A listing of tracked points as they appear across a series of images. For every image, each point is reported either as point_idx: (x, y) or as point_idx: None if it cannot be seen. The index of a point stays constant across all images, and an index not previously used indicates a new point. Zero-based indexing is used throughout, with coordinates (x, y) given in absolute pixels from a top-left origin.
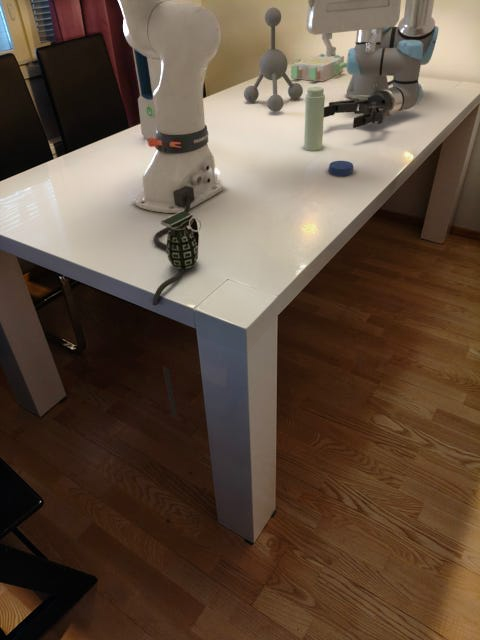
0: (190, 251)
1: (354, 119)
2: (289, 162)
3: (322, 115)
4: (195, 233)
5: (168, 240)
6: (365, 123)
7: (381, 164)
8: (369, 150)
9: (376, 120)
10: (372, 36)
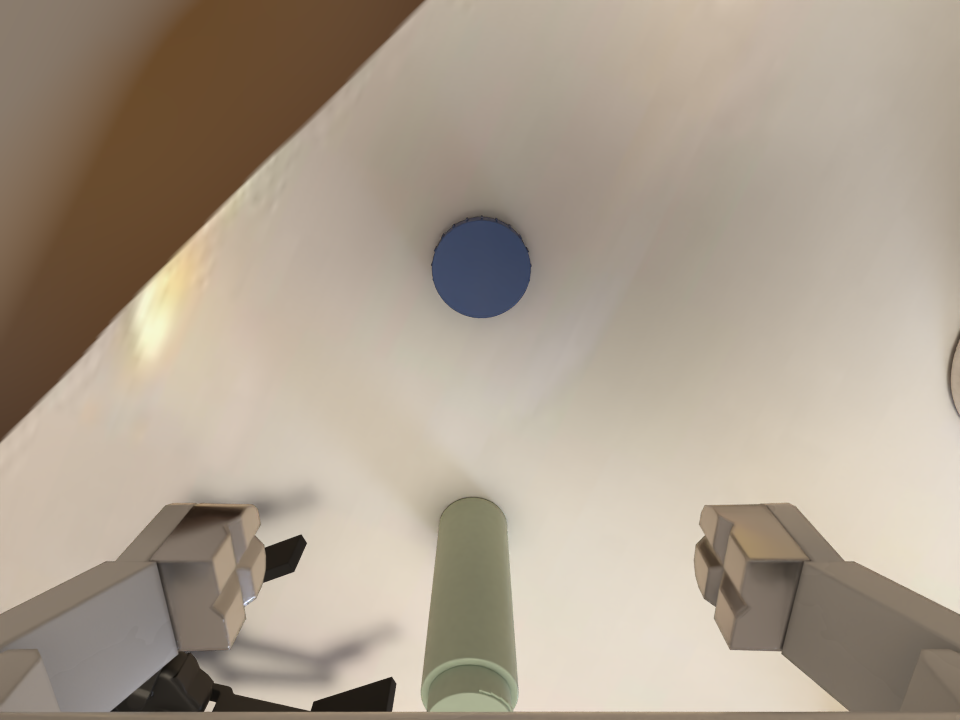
0: None
1: (293, 563)
2: (617, 428)
3: (445, 594)
4: None
5: None
6: None
7: (294, 275)
8: (280, 426)
9: None
10: (97, 709)
